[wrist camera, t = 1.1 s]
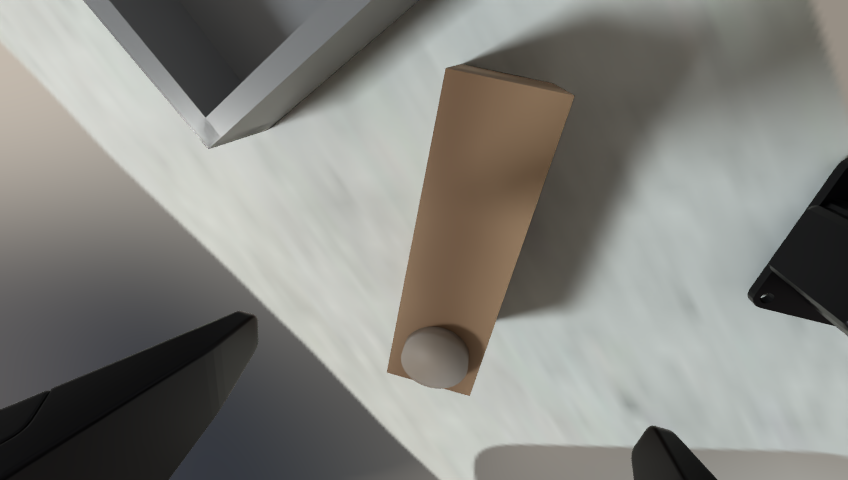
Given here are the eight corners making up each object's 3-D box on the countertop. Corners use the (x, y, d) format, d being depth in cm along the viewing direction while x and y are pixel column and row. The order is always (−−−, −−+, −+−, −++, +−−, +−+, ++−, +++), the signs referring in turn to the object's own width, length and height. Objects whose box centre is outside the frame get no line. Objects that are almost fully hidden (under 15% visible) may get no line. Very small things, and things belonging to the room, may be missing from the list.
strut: (553, 83, 15) (578, 98, 10) (476, 321, 20) (468, 407, 15) (462, 64, 15) (442, 68, 10) (411, 303, 21) (383, 383, 16)
